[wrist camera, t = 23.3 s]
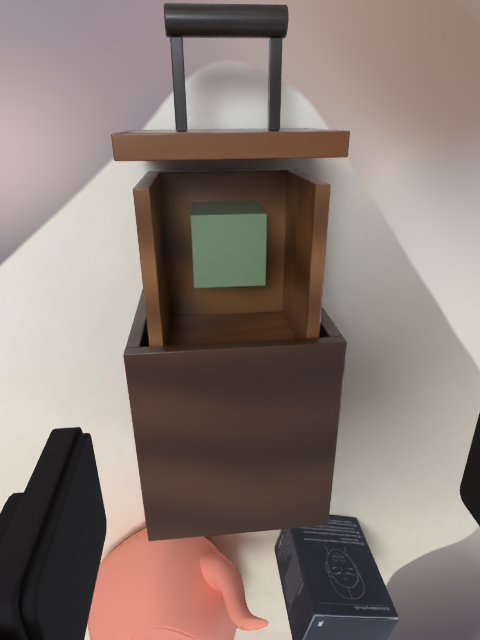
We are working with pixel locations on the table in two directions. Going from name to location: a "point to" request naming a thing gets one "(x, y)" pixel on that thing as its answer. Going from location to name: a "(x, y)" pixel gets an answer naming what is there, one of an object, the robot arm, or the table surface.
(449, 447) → the table surface
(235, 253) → the block
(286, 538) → the box
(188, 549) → the teapot
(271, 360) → the cabinet
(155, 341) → the drawer
